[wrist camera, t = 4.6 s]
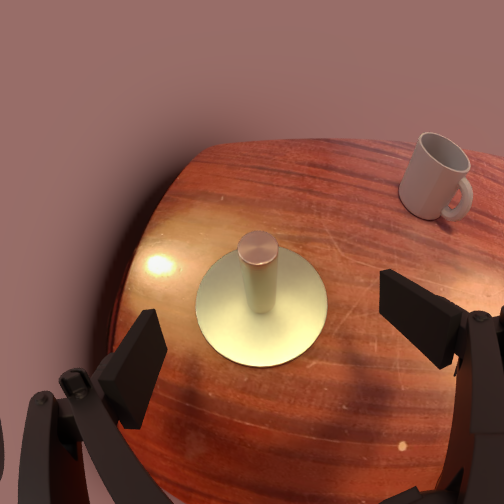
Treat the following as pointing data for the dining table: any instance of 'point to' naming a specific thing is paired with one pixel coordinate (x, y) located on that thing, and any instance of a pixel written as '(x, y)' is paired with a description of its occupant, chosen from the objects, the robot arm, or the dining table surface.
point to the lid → (261, 303)
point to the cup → (436, 179)
